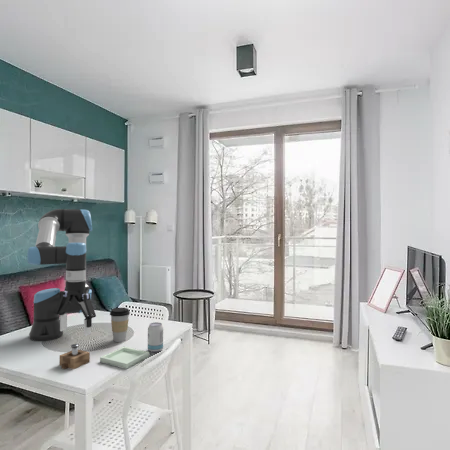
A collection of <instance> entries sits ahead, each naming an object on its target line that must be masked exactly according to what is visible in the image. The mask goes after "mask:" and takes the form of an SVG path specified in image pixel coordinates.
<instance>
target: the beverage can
mask: <svg viewBox="0 0 450 450" xmlns="http://www.w3.org/2000/svg"><path fill="white" fill-rule="evenodd" d="M163 349H164V326H163V323H161V322H159V321H158V322H151V323H149V325H148V327H147V350H148V352H149V353H153V354H154V353H160V352H161V351H162V350H163Z"/></svg>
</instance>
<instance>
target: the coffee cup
mask: <svg viewBox="0 0 450 450" xmlns="http://www.w3.org/2000/svg"><path fill="white" fill-rule="evenodd" d="M130 314H131V312H130V310H129V308H127V307H116V308H112V309H111V311H110V312H109V316H110V317H111V318H110V319H111V320H110V322H111V323H110V324H111V331H112V339H113V342H116V343H122V342H124V341H126V339H127V334H128V327H129V320H130V319H129V318H130V317H129V316H130Z"/></svg>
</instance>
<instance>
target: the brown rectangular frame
mask: <svg viewBox="0 0 450 450" xmlns="http://www.w3.org/2000/svg"><path fill="white" fill-rule="evenodd" d="M90 357H91V355H90V352H89V351H85V350H82V349H78V355H77V356H75V357H73V356H72V350H70V351H67V352H65V353H62V354H60V355H59V363H58V364H59V366H61V369H62V370H66V369H71V370H75V369H77V368H79V367H82V366H84V365H86V364H88V363H90V362H91V361H90V360H91V358H90Z"/></svg>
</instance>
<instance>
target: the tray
mask: <svg viewBox="0 0 450 450" xmlns="http://www.w3.org/2000/svg"><path fill="white" fill-rule="evenodd" d="M148 358H150V351H146V350H142V349H137V348H133V347H129V346H122V347H119V348H117V349H116V350H112V351H111V352H108V353H107V354H105V355H102V356H100V357H99V363H101V364H106V365H109V366H114V367H117V368H122V369H126V370H127V369H129V368H131V367H133V366H135V365H136V364H138V363H141V362H142V361H145V360H146V359H148Z"/></svg>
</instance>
